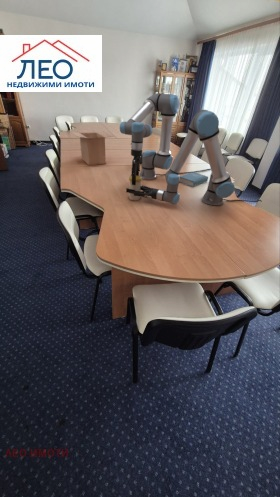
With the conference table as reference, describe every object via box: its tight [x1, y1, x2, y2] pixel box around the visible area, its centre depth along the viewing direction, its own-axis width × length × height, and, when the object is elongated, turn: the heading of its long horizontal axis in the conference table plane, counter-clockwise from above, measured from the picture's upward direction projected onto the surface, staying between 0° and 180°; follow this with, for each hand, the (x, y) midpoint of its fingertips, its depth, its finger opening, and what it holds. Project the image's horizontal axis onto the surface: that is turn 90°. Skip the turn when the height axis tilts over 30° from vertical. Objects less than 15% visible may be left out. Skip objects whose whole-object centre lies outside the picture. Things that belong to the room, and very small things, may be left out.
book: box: [179, 171, 209, 188], centre depth 201 cm, size 23×16×5 cm
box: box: [70, 129, 114, 166], centre depth 229 cm, size 44×36×27 cm
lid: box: [128, 175, 143, 183], centre depth 158 cm, size 9×9×2 cm
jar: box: [128, 181, 142, 201], centre depth 162 cm, size 8×8×15 cm
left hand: (135, 182), depth 159 cm, fingers closed on lid, 9 cm apart
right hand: (129, 188), depth 164 cm, fingers closed on jar, 8 cm apart
